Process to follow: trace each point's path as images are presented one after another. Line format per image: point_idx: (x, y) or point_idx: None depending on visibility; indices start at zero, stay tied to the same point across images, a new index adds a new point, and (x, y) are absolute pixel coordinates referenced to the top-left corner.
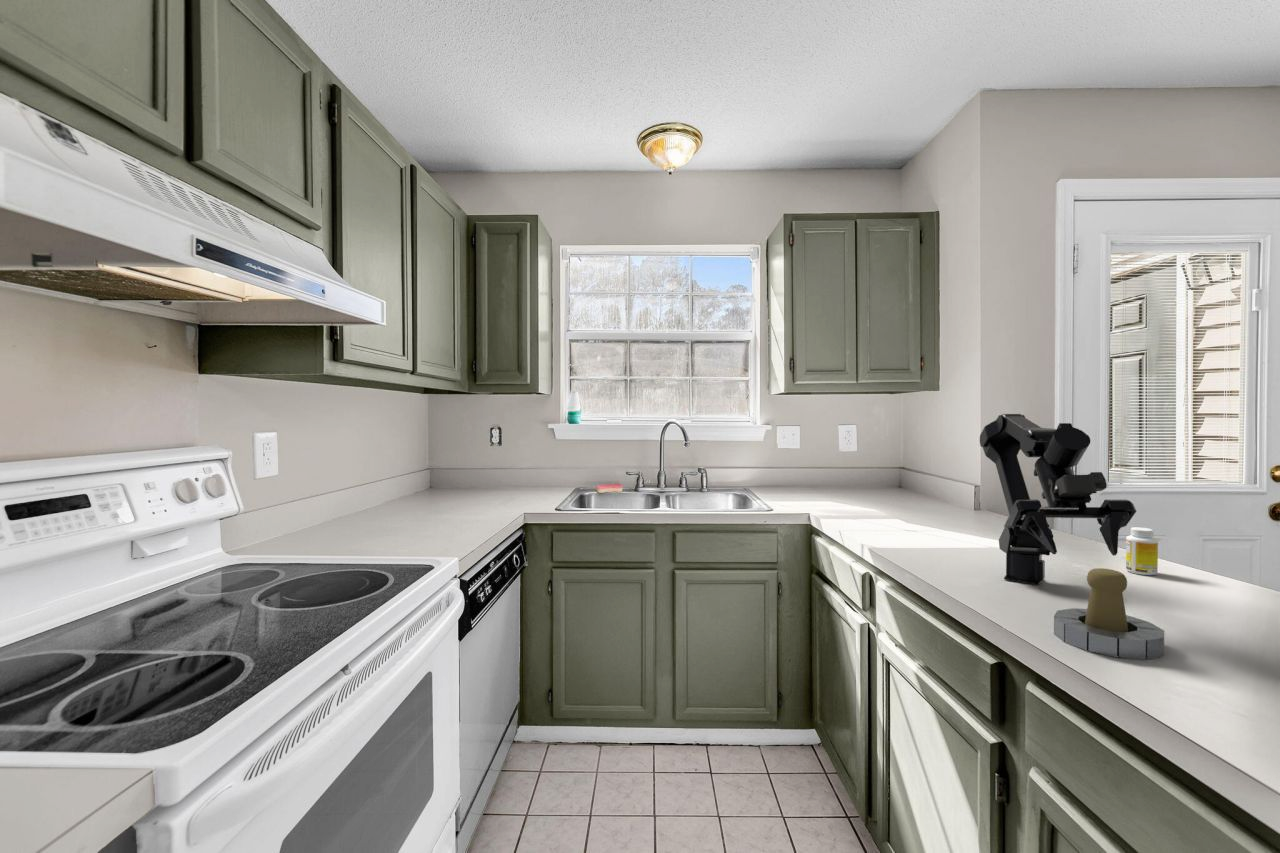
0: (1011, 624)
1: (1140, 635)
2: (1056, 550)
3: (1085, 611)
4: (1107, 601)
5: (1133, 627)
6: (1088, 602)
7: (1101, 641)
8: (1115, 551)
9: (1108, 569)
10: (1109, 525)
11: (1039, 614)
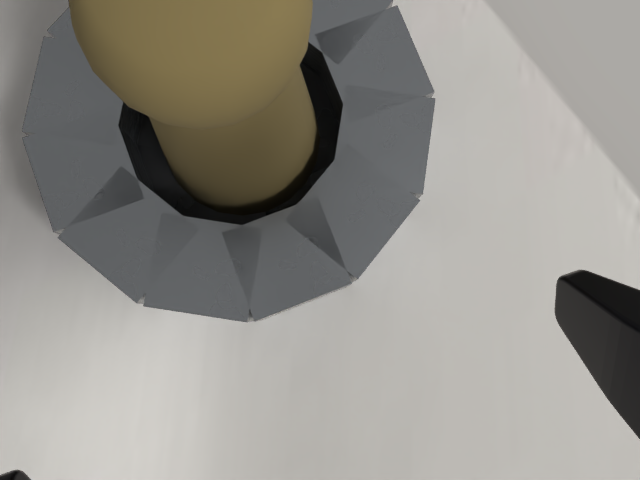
0: (567, 154)
1: None
2: (568, 276)
3: (305, 253)
4: None
5: (133, 159)
6: (302, 83)
7: None
8: (3, 478)
9: None
10: None
11: (475, 370)
